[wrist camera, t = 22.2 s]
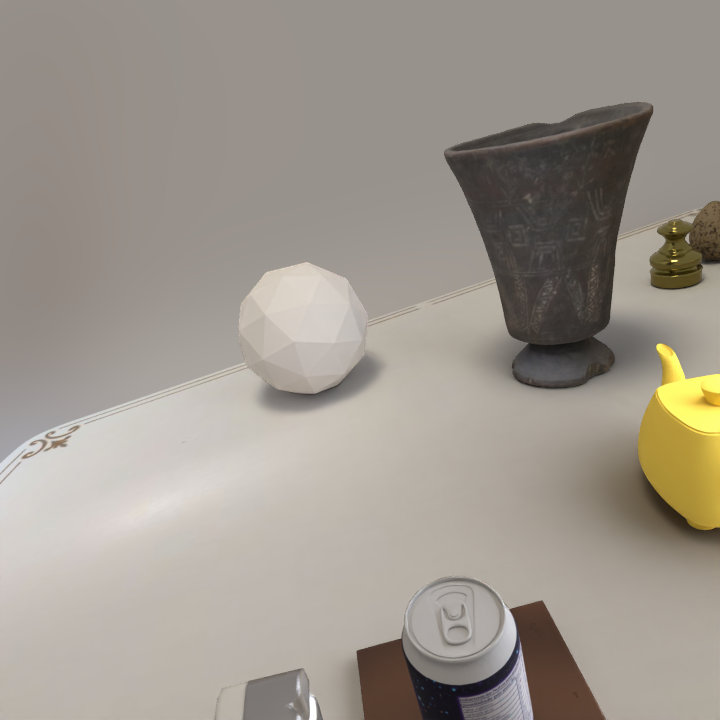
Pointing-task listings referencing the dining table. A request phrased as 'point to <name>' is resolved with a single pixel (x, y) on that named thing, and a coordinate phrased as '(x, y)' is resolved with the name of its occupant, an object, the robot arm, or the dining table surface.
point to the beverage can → (464, 653)
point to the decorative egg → (707, 231)
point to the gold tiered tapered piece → (676, 258)
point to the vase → (554, 231)
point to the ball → (302, 329)
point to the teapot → (684, 442)
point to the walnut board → (542, 666)
